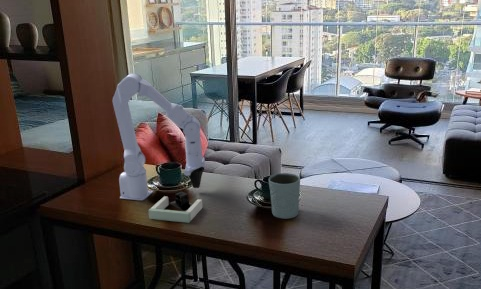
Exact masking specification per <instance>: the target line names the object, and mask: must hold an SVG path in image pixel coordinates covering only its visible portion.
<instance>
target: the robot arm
mask: <svg viewBox="0 0 481 289" xmlns="http://www.w3.org/2000/svg"><path fill="white" fill-rule="evenodd" d="M136 94H137V96H138V97H145V98H146V97H147V98H148V99H150V100H151V101H153V103H155V104H156V105H157V106H159V107H160V108H161V109H162V110H164V111H165V116H166V117H167V118H168V119H169V120H170V121H171V122H173V123H174V124H175V125H176V126H177V127H178V128H179V129H182V132H183V134H184V137H185V140H184V144H185V145H184V146H185V160H186V164H185V169H184V170H183V173H184V176H188V178H189V180H190V182H191V185H192V186H191V187H192V188H193V189H199V188H200V187H201V181H202V176H203V173H204V170H205V166H206V165H207V163H206V159H205V157H204V156H203V150H202V138H201V122H200V121H199V119H198V118H197V117H195V116H194V115H193V114H190V113H189V112H188V111H186V110H185V109H184V106H183V105H182V104H178V103H171V101H169V100H168V99H167V98H166V97H165V96H164V95H163V94H162V93H160V91H159V90H158V89H156V88H155V87H154V86H153V85H152V84H151V83H150V82H149V81H147V80H146V79H145V78H143V77H142V76H141V75H139V74H138V73H134V72H131V73H129V74H128V75H126V76H125V77H124V78H122V80H121V81H120V82H119V83H118V84H117V85H116V89H115V92H114V95H113V97H112V101H111V102H112V105H113V110H114V114H115V118H116V122H117V126H118V130H119V134H120V138H121V142H122V143H121V144H122V145H123V150H124V152H123V159H124V164H123V172H121V173H120V174H119V178H118V182H119V192H120V196H119V199H121V200H123V199H125V200H133V201H134V200H135V201H144V200H145V199H147V198H148V197H149V196H150V195H151V194H153V193H154V192H153V190H149V187H148V186H149V185H148V179H147V178H148V177H147V169H146V168H145V167H144V166H145V164H146V156H145V155H144V153H143V152H142V149H141V147H140V145H139V144H138V139H137V135H136V130H135V126H134V123H133V119H132V114H131V109H130V104H129V102H130V100H131V99H132V97H134V96H135V95H136Z"/></svg>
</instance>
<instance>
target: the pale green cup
mask: <svg viewBox="0 0 481 289" xmlns="http://www.w3.org/2000/svg"><path fill="white" fill-rule="evenodd" d="M300 184H301V177H300V176H299V175H297V174H295V173H288V172H283V173H282V172H281V173H275V174H273V175H270V176H269V177H268V187H269V192H270V203H271V213H272V215H273V217H275V218H278V219H287V220H288V219H293V218H296V217H297V216H298V215H299V212H300V211H299V210H300V207H299V205H300V202H299V201H300V193H301V192H300V190H301V189H300V187H301V186H300Z"/></svg>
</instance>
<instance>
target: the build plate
mask: <svg viewBox="0 0 481 289" xmlns="http://www.w3.org/2000/svg"><path fill="white" fill-rule="evenodd" d="M193 204H194V203H191V202H190V198H189V194H188V193H186V192H184V191H179V192H177V193H175V194H174V201H171V202H169V205H172V206H173V207H174V208H177V209H178V210H179V211H184V212H186V211H187V210H188V209H189V208H190V207H191V206H192V205H193Z"/></svg>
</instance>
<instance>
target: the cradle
mask: <svg viewBox="0 0 481 289" xmlns="http://www.w3.org/2000/svg"><path fill="white" fill-rule="evenodd" d="M169 203H170V201H169V197H168V196H165V195H164V196H163V197H162V198H161V199H160V200H158V201H157V202H156V203H155V204H154V205H153V206H152V207H150V208H149V209H148V219H149V220H158V221H168V222H169V221H170V222H178V223H179V222H180V223H187V224H189V223H190V222H191V221H192V220H193V219H194V218H196V216H197V214H198V213H199V212H200V211H201V210H202V209H203V199H198V198H197V200H195V201H194V202H193V203H192V204H193V205H192V206H191V207H190V208H189V209H188V210H186V211H182V210H172V209H166V208H167V207H168V206H169V205H170V204H169Z"/></svg>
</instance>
